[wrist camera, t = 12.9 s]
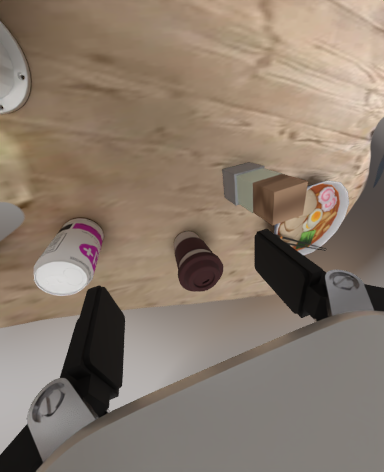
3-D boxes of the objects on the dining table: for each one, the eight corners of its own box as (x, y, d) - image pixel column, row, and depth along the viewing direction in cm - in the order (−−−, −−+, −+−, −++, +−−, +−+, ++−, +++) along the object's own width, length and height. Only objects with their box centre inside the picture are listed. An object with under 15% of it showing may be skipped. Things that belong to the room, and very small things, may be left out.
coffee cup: (170, 225, 45) (184, 261, 33) (206, 226, 48) (231, 259, 36) (167, 257, 50) (178, 299, 37) (200, 256, 53) (221, 294, 40)
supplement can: (99, 215, 39) (83, 254, 27) (107, 246, 43) (97, 292, 31) (56, 218, 37) (18, 262, 25) (69, 251, 41) (42, 302, 29)
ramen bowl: (340, 189, 55) (369, 197, 49) (297, 249, 64) (317, 263, 57) (285, 160, 45) (312, 165, 38) (243, 237, 54) (259, 252, 47)
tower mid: (236, 175, 37) (252, 182, 32) (262, 167, 38) (282, 173, 33) (238, 203, 40) (252, 213, 35) (262, 195, 41) (280, 204, 36)
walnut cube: (252, 182, 32) (274, 192, 27) (281, 173, 33) (308, 181, 28) (253, 212, 35) (272, 225, 30) (279, 203, 36) (302, 214, 31)
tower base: (222, 169, 42) (234, 174, 37) (249, 162, 43) (264, 166, 38) (224, 197, 46) (235, 205, 41) (249, 190, 47) (263, 197, 42)
